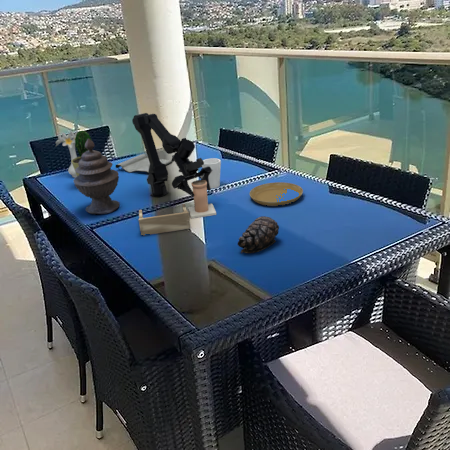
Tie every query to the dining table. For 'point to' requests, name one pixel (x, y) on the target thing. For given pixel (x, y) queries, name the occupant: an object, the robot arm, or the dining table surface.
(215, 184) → the foam cup
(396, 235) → the dining table surface
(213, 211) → the stone tile
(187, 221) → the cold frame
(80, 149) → the potted cactus
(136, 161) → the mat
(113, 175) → the decorative urn
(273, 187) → the plant saucer
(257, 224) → the pine cone
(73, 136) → the flower vase
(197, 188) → the terracotta pot
